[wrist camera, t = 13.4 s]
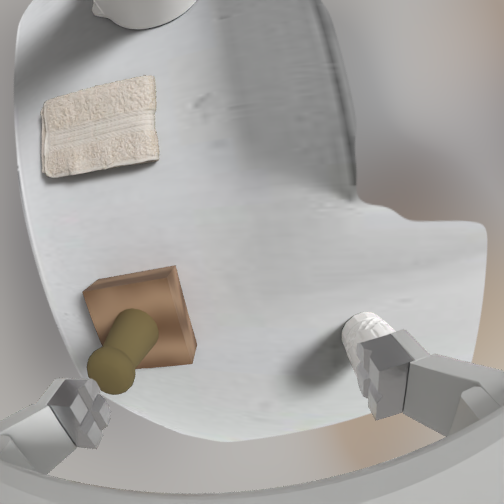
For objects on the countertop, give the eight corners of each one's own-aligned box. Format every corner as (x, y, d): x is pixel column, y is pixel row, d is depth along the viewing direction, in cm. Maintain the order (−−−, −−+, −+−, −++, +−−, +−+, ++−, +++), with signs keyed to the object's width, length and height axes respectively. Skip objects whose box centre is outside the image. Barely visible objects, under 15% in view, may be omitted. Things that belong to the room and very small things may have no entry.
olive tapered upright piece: (120, 349, 37) (88, 399, 26) (110, 308, 36) (71, 352, 25) (162, 350, 37) (139, 406, 26) (154, 308, 36) (125, 357, 25)
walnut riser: (97, 279, 40) (82, 291, 35) (175, 265, 40) (166, 277, 35) (123, 352, 43) (112, 370, 38) (197, 344, 43) (192, 363, 38)
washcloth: (47, 105, 34) (36, 101, 31) (158, 75, 34) (152, 68, 31) (49, 182, 37) (38, 183, 34) (162, 161, 37) (156, 160, 34)
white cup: (332, 353, 44) (351, 394, 34) (343, 306, 42) (368, 341, 32) (378, 353, 44) (403, 390, 34) (390, 308, 42) (422, 339, 32)
